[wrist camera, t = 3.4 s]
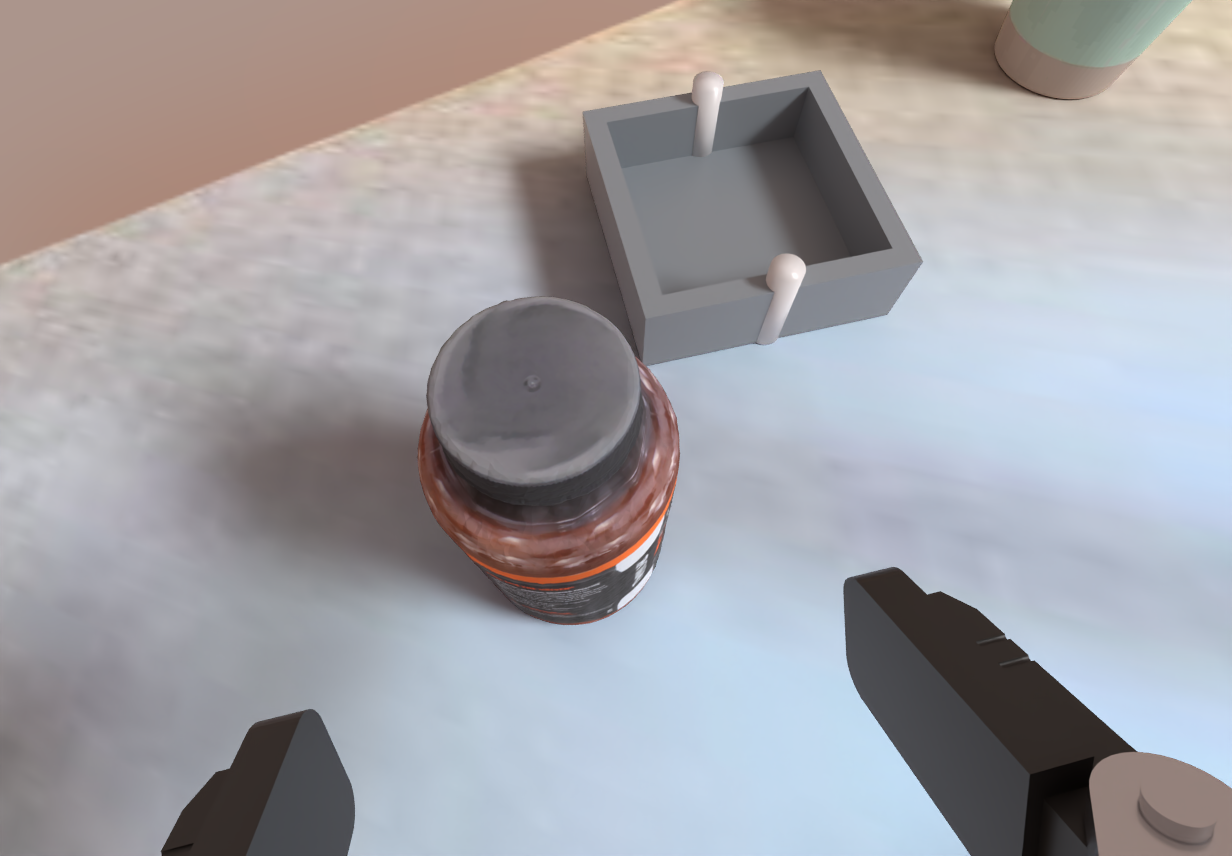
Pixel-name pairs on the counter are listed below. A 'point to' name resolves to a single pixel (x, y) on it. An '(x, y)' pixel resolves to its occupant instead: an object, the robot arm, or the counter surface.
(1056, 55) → the coffee cup
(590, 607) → the supplement bottle
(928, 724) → the robot arm
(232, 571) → the counter surface
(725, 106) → the tray
